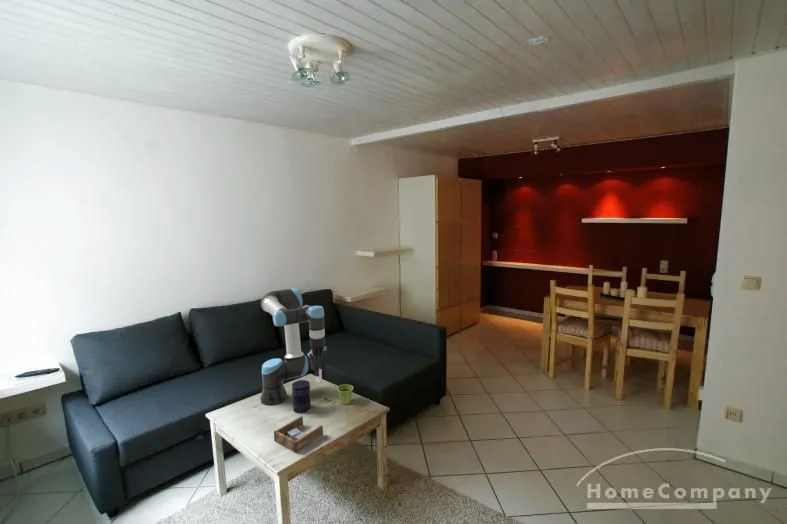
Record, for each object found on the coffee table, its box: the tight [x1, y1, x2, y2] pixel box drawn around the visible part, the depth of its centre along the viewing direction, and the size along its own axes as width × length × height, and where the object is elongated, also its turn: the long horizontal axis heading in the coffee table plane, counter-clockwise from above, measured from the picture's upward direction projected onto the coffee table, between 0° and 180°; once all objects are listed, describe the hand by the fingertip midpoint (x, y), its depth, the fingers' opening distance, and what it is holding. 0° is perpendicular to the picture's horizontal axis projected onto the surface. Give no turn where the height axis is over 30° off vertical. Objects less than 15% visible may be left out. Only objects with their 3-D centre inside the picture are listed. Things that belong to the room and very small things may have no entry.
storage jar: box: [291, 379, 311, 414], centre depth 210 cm, size 10×10×15 cm
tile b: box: [295, 431, 307, 441], centre depth 180 cm, size 5×5×3 cm
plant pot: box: [336, 383, 354, 405], centre depth 218 cm, size 9×9×9 cm
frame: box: [273, 415, 324, 454], centre depth 183 cm, size 16×17×5 cm
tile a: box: [286, 428, 302, 440], centre depth 184 cm, size 5×5×3 cm
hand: (319, 381), depth 190 cm, fingers closed
